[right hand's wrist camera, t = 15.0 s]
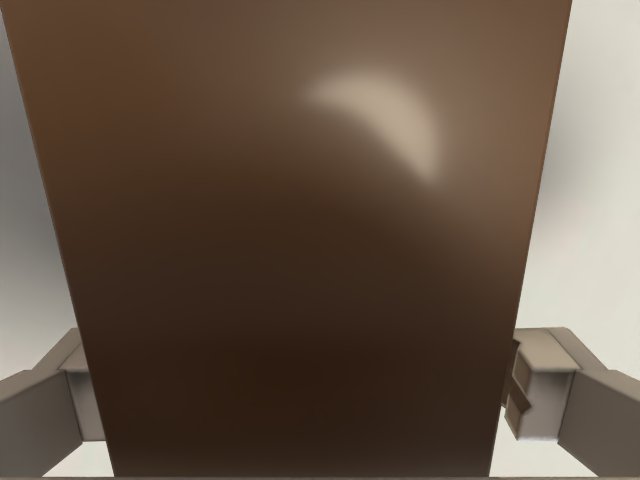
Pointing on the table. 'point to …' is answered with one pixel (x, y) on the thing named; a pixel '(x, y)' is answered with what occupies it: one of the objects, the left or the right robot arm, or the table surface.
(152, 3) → the box
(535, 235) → the table surface
